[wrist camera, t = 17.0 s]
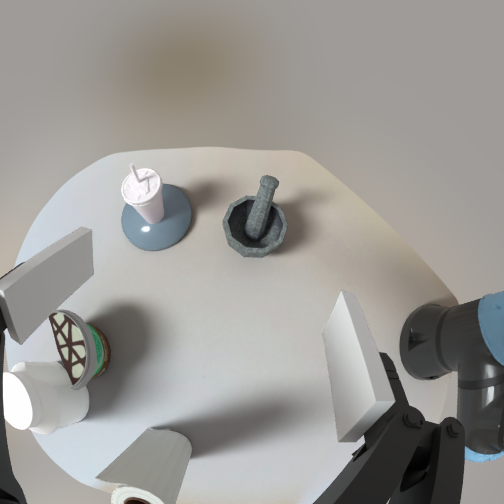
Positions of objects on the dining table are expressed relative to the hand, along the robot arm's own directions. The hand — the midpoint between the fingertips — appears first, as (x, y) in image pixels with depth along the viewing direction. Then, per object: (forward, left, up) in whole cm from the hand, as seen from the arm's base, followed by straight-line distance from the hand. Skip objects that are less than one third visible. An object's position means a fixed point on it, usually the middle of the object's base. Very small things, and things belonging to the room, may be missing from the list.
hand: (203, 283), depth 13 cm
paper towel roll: (+17, +13, -31) cm, 38 cm away
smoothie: (-1, -22, -30) cm, 38 cm away
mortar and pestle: (-13, -10, -31) cm, 35 cm away
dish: (-1, -22, -31) cm, 38 cm away
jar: (+31, -3, -31) cm, 45 cm away
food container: (+19, -7, -31) cm, 38 cm away
